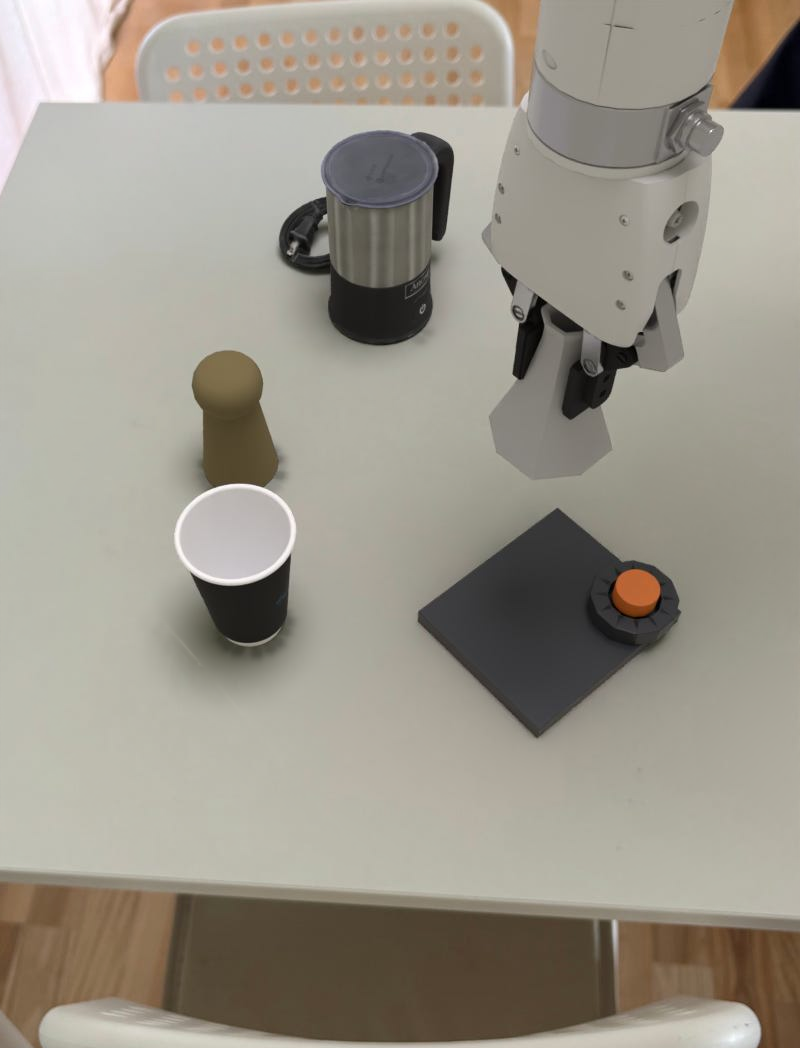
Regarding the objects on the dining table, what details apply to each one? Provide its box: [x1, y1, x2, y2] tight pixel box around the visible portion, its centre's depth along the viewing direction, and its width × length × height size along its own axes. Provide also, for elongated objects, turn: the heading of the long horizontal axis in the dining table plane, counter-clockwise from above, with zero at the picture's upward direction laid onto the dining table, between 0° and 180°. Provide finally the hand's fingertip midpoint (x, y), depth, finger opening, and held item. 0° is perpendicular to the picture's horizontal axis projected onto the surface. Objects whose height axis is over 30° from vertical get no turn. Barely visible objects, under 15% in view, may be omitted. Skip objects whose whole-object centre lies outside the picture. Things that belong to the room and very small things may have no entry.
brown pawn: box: [191, 349, 279, 488], centre depth 83 cm, size 6×6×11 cm
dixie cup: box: [173, 484, 297, 647], centre depth 75 cm, size 8×8×11 cm
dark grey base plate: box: [417, 507, 682, 739], centre depth 78 cm, size 14×12×3 cm
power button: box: [612, 569, 660, 617], centre depth 76 cm, size 3×3×2 cm
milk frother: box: [278, 129, 455, 345], centre depth 93 cm, size 14×16×15 cm
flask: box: [488, 303, 614, 481], centre depth 63 cm, size 7×7×10 cm
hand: (559, 383), depth 63 cm, fingers closed on flask, 3 cm apart
